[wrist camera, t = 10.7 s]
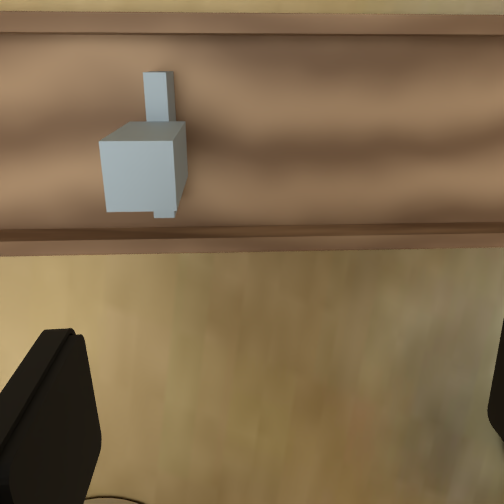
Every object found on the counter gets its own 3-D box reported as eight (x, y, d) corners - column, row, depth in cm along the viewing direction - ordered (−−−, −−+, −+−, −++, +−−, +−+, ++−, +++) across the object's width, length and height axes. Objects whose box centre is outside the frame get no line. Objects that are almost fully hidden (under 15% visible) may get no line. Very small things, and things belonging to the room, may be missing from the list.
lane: (500, 229, 36) (554, 261, 30) (-204, 240, 33) (-295, 278, 27) (543, 20, 30) (618, 10, 25) (-289, 14, 28) (-422, 2, 22)
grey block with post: (193, 199, 32) (180, 264, 22) (148, 200, 32) (112, 265, 21) (188, 71, 29) (168, 75, 19) (138, 71, 29) (90, 75, 19)
